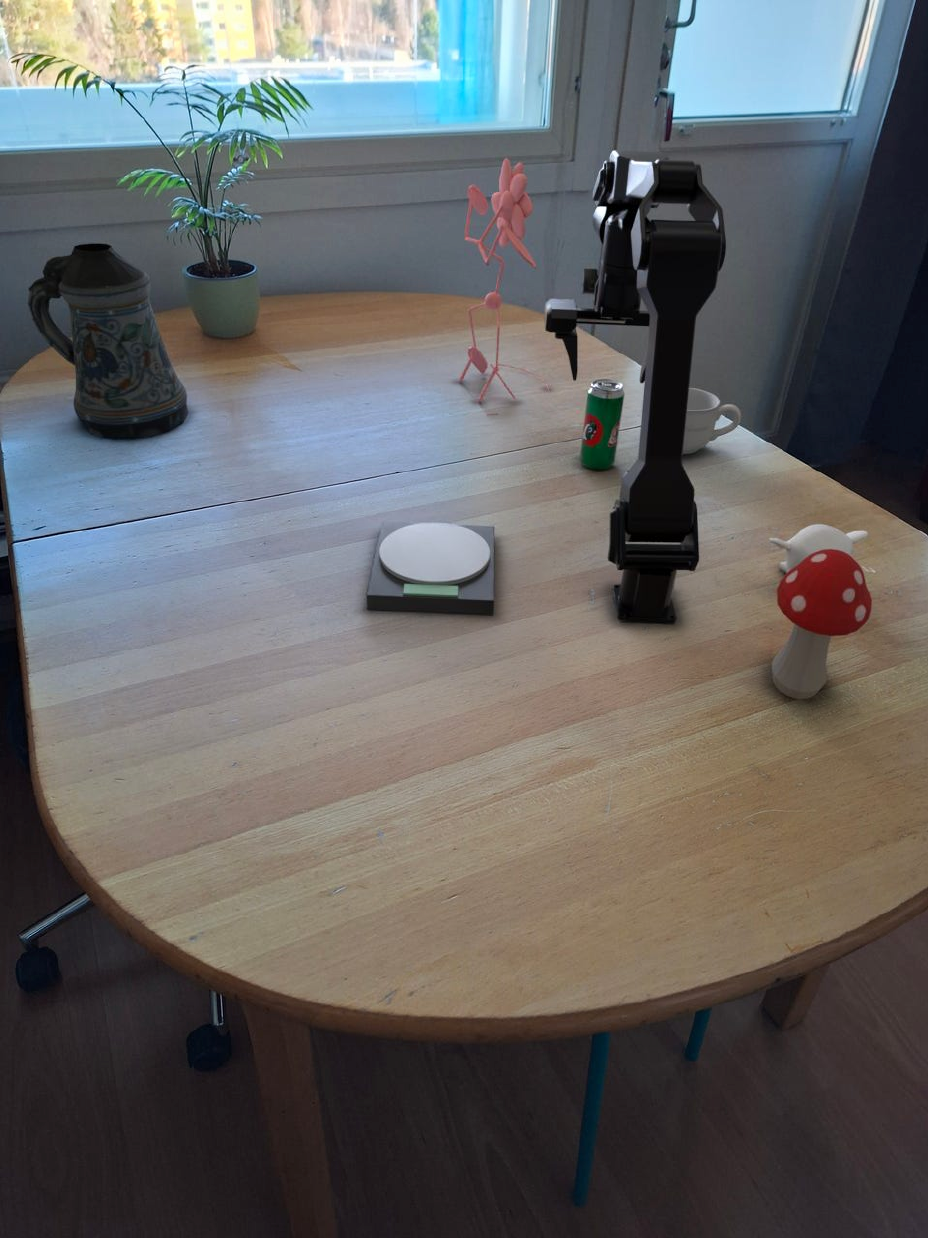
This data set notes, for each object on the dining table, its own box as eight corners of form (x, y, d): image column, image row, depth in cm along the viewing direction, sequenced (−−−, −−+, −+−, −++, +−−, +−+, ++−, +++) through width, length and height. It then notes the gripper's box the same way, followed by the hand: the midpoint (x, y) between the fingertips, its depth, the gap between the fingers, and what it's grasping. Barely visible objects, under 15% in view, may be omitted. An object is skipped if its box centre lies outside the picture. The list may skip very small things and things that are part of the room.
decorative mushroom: (758, 642, 94) (794, 521, 85) (841, 662, 92) (887, 540, 83) (747, 698, 87) (785, 572, 78) (838, 722, 84) (888, 595, 75)
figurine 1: (492, 423, 138) (506, 178, 117) (438, 366, 157) (442, 147, 136) (579, 412, 142) (608, 175, 121) (516, 357, 162) (532, 144, 141)
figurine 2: (742, 587, 106) (788, 610, 96) (746, 519, 103) (793, 536, 94) (831, 579, 108) (884, 600, 98) (837, 512, 105) (893, 527, 96)
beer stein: (197, 432, 132) (168, 258, 117) (58, 450, 125) (10, 269, 111) (182, 392, 144) (155, 229, 129) (56, 406, 138) (12, 237, 123)
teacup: (629, 451, 131) (637, 400, 126) (651, 425, 139) (660, 376, 134) (720, 473, 126) (732, 421, 121) (738, 445, 134) (750, 395, 129)
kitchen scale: (493, 615, 97) (494, 596, 95) (367, 609, 97) (366, 590, 95) (493, 539, 109) (494, 521, 108) (382, 535, 110) (381, 517, 108)
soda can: (612, 473, 125) (624, 393, 118) (577, 469, 126) (587, 389, 119) (615, 458, 129) (626, 379, 122) (580, 454, 130) (590, 376, 123)
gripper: (686, 248, 117) (666, 362, 126) (547, 243, 117) (537, 357, 126) (702, 271, 108) (679, 392, 117) (551, 265, 108) (540, 386, 117)
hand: (607, 380), depth 120 cm, fingers open, 9 cm apart
